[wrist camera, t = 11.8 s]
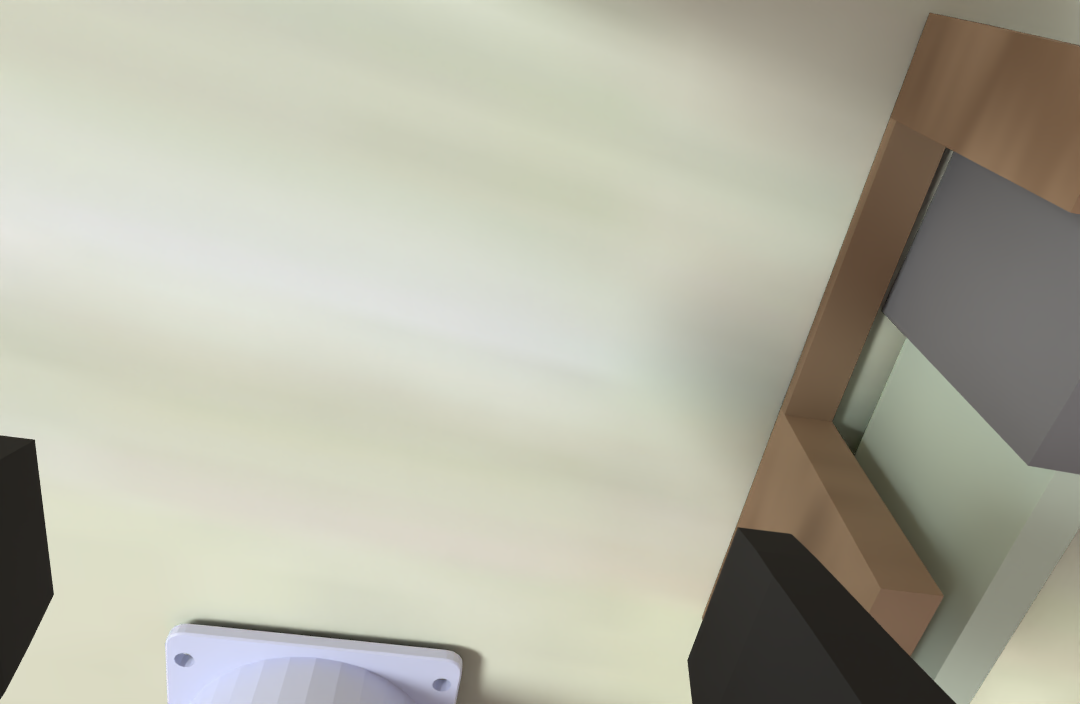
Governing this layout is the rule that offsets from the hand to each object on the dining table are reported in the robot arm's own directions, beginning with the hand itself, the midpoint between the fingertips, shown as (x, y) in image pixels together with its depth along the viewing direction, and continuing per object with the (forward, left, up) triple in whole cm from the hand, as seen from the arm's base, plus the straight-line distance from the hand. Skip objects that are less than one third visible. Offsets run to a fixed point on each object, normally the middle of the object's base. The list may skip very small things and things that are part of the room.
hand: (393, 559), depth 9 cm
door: (-4, -11, -10) cm, 15 cm away
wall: (-2, -9, -10) cm, 14 cm away
